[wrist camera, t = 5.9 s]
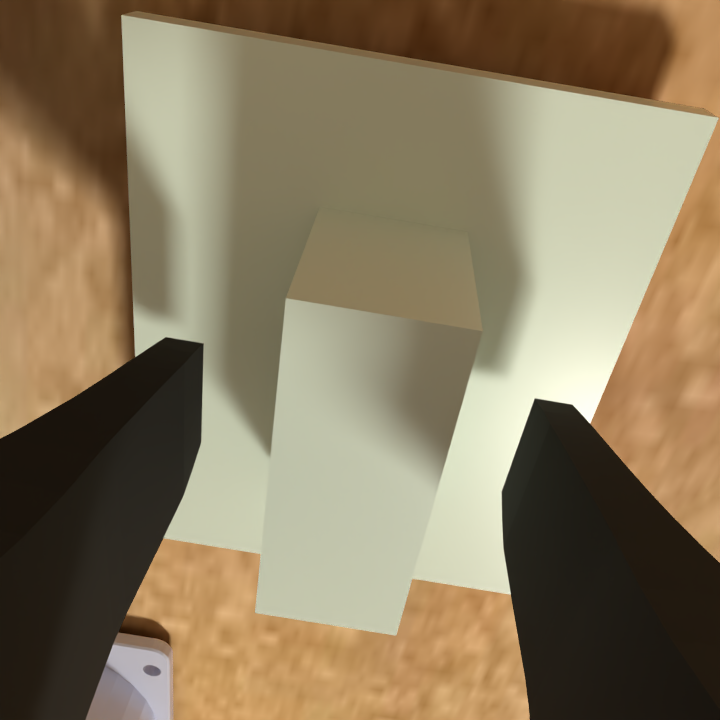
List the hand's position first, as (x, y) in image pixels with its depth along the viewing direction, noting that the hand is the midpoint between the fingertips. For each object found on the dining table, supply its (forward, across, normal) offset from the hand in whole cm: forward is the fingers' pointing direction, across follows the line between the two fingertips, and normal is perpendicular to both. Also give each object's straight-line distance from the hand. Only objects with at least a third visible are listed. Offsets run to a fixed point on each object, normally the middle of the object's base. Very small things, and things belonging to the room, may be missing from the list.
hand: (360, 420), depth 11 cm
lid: (+2, 0, 0) cm, 2 cm away
